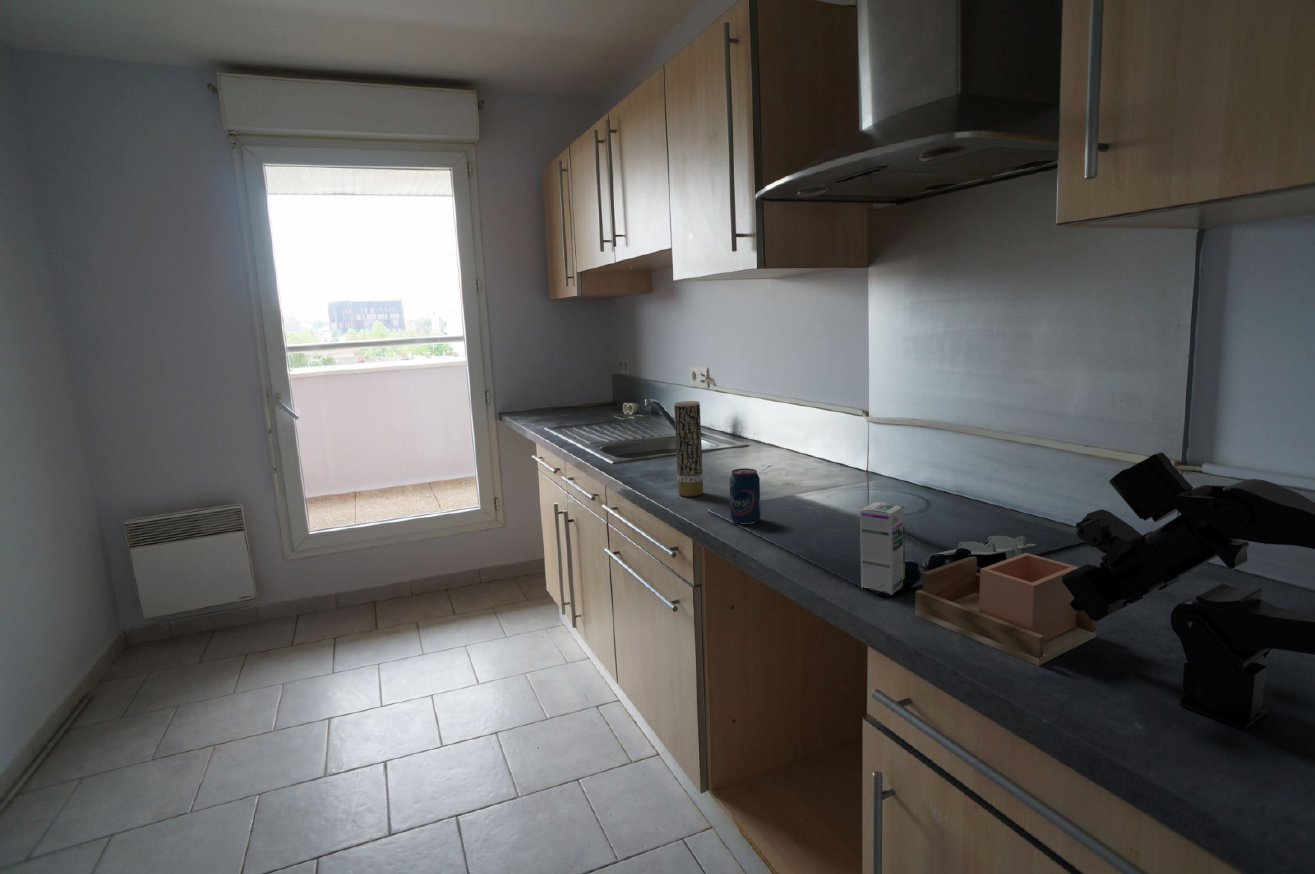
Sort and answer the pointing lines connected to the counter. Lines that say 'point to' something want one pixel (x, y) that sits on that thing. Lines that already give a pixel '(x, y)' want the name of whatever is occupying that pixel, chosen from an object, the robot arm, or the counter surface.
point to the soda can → (745, 495)
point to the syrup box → (882, 546)
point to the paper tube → (688, 448)
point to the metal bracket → (995, 546)
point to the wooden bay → (957, 608)
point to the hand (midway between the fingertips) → (1073, 606)
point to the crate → (1028, 594)
